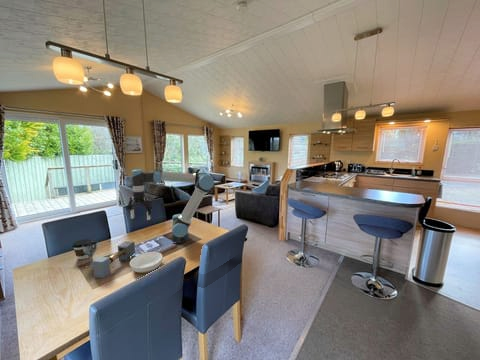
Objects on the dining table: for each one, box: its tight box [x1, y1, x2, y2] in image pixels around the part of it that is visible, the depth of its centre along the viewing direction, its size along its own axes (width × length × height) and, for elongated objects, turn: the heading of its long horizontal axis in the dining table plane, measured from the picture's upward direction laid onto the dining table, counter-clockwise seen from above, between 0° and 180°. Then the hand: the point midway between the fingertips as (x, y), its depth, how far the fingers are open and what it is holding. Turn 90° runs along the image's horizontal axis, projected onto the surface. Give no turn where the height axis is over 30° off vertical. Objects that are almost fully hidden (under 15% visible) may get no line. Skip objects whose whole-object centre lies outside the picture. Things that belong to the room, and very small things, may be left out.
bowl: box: [129, 251, 163, 274], centre depth 128 cm, size 20×20×6 cm
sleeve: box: [117, 240, 136, 262], centre depth 140 cm, size 8×7×11 cm
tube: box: [107, 248, 125, 265], centre depth 129 cm, size 19×4×4 cm, turn 169°
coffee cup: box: [71, 238, 92, 260], centre depth 139 cm, size 11×11×12 cm
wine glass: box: [82, 240, 98, 268], centre depth 131 cm, size 8×8×15 cm
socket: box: [92, 256, 111, 279], centre depth 120 cm, size 5×7×11 cm
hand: (140, 218), depth 144 cm, fingers open, 13 cm apart
